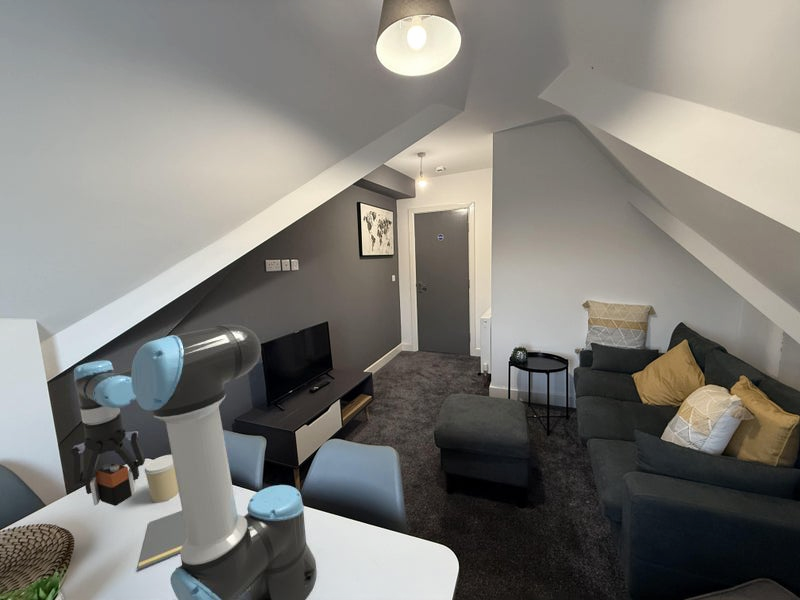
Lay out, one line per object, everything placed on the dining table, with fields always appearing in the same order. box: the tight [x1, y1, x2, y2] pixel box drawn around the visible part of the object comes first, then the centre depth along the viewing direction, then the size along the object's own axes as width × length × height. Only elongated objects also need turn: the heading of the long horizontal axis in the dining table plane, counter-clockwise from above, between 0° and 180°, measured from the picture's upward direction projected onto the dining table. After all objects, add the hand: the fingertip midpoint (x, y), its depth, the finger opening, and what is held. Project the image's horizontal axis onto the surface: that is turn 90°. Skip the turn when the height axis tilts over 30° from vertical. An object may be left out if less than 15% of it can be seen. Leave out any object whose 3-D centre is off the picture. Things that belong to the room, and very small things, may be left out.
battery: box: [95, 462, 133, 507], centre depth 89 cm, size 4×7×10 cm, turn 70°
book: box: [137, 510, 187, 572], centre depth 94 cm, size 18×14×1 cm
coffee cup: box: [144, 454, 179, 504], centre depth 110 cm, size 9×9×12 cm
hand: (116, 495), depth 90 cm, fingers closed on battery, 7 cm apart
